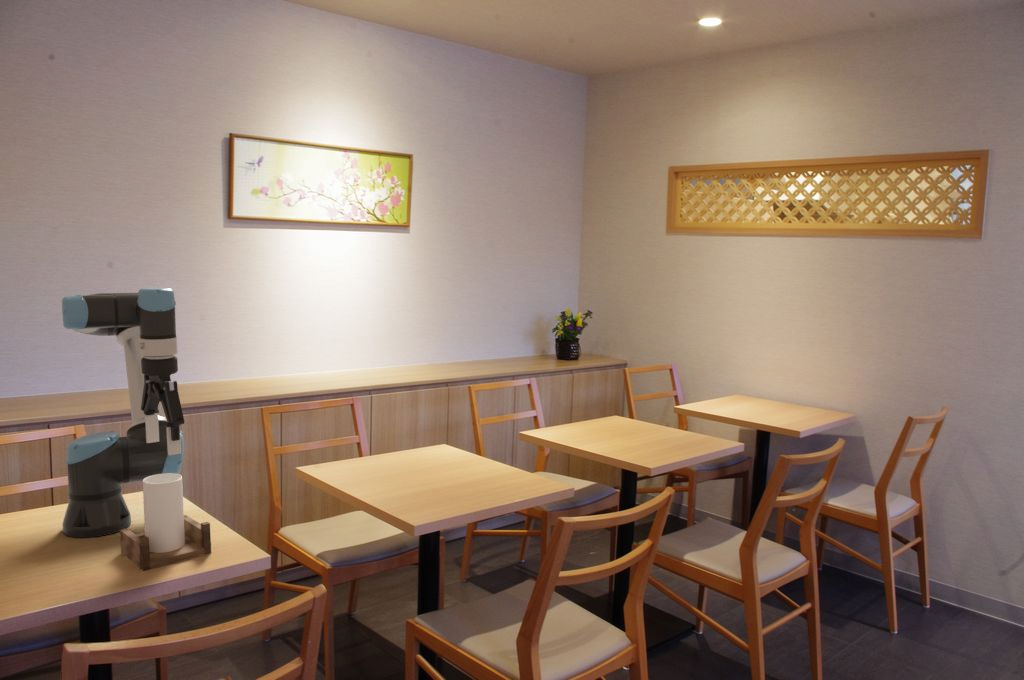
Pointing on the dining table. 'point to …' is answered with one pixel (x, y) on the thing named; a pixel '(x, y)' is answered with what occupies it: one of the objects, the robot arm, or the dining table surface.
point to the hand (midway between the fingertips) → (163, 448)
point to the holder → (145, 560)
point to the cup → (164, 512)
